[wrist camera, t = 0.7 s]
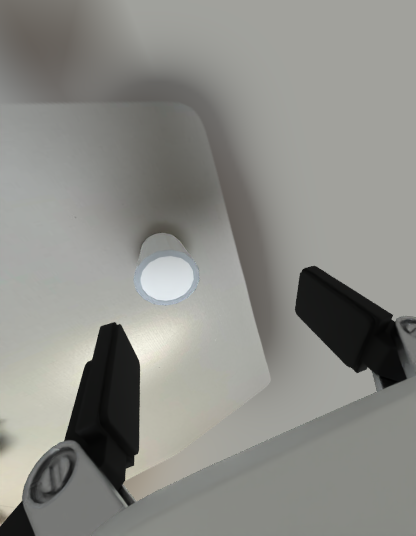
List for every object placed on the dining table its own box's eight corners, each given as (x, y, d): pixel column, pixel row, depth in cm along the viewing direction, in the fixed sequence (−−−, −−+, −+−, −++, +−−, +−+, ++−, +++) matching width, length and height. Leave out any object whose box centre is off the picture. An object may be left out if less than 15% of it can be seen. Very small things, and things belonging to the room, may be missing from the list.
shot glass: (135, 274, 27) (133, 307, 21) (135, 225, 24) (133, 248, 18) (184, 274, 29) (195, 304, 24) (190, 230, 26) (204, 251, 20)
